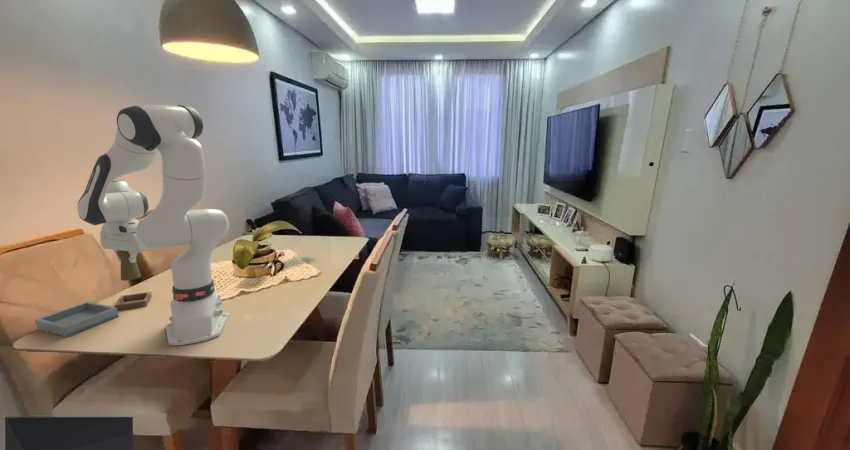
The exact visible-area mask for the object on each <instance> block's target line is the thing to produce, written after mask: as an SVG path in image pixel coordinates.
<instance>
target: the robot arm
mask: <svg viewBox="0 0 850 450" xmlns="http://www.w3.org/2000/svg"><path fill="white" fill-rule="evenodd" d="M116 125H117V129H116V132H115V138H114V142H113V144H112V146H111V147H110V148H109V149H108V150H107V151H106V152H105V153H104V154H101V155H100V156H99V157H98V158H97V160H96V161H95V164H94V165H93V168H92V171H91V174H90V175H89V178H88V182H87V185H86V186H85V189H84V191H83V194H82V195H81V197H80V198H79V199H78V201H77V208H76V209H77V214H78V216H79V219H80V220H82V221H84V222H86V223H87V224H90V225H93V226H99V225H102V224H103V225H102V226H101V230H100V234H99V235H100V243H101V245H100V246H101V247H102V249H104V250H111V251H113V252H114V254H115V256H116V257H117V260H118V262H121V259H120V258H119V257H118V252H119V251H128V252H129V254H130V258H128V260H129V262H130V263H134V262H136V263H137V255H138V254H139V253H144V252H147V251H148V250H149V249H170V248H174V247H181V246H187V245H188V247H187V249H185V251H184V252H183V253H182V254H180V255H179V256H177V257H176V258H175V259H174V260H173V261H172V263H171V266H170V271H171V276H172V283H173V284H172V287H171V288H172V290H171V291H172V296H173V297H172V300H171V301H170V302H169V304H170V311H171V313H170V314H171V316H169V318H168V319H169V321H168V322H166V323H165V331H166V337H167V342H168V345H169V346H184V345H191V344H195V343H201V342H204V341H208V340H211V339H214V338H216V337H218V336H221V333H222V331H223V330H224V328H225V325H226V323H227V321H228V320H229V318H230V314H229V313H228V312H224V310H223V305H222V304H223V303H222V298H221V295H220V294H219V293H217V292H216V290H215V283H214V280H213V278H212V264H211V261H212V255H213V252H214V250H215V248H216V246H217V244H218V242H220V240H222V239H223V238H224V237H225V236H226V235H227V234H228V231H229V229H230V228H229V227H230V221H229V218H228V216H227V215H226V214H225V212H223V211H222V210H221V209H215V208H201V209H192V208H193V207H194V206H196V205H198V204H199V203H201V202H202V201H203V200H204V198H205V197H206V191H207V190H206V188H207V187H206V185H207V183H206V178H207V177H206V176H207V175H206V173H207V171H206V161H205V155H204V149H203V147H202V145H201V143H200V142H199V141H198V140H197V139H196V138H198V137H200V136H201V135H202V133H203V130H204V122H203V118H202V116H201V115H200V113H199V112H198V111H197V110H196V109H195V108H193V107H191V106H187V105H182V104H178V105H174V104H173V105H170V104H146V105H145V104H144V105H140V106H138V105H131V106H128V107H124V108H122V109H120V110H119V111H118V113H117V116H116ZM159 153H160V155H161V160H162V161H161V163H162V165H161V166H162V170H161V171H162V172H161V173H162V192H161V197H160V199H159V202H158V203H157V205H156V206H155V207H154V209H152V210H151V211H150V213H148V212H149V211H148V210H149V201H148V198H147V196H146V195H145V194H143V193H142V192H140V191H135V190H134V189H132V188H130V186H129V183H128V181H125V180H116V179H118V178H121V177H123V176H126V175H129V174H132V173H136V172H139V171H140V172H141V171H143V170H146V169H148V168H150V167H151V166H152V165H154V163H156V160H157V159H158V156H159ZM147 213H148V214H147ZM146 214H147V215H146ZM145 215H146V216H145ZM141 217H142V218H141ZM138 218H141V219H140V220H138Z"/></svg>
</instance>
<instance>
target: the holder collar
mask: <svg viewBox="0 0 850 450" xmlns="http://www.w3.org/2000/svg"><path fill="white" fill-rule="evenodd" d="M119 296H120V297H119V298H118V299H117V300H116V302H115V304H114V305H113V307H116V308H117V311H123V310H124V311H125V310H129V309H131V310H132V309H135V308H136V309H137V308H142V307H148V305H149V302H150V301H151V299H152V296H153V295H152V291H147V292H140V293H139V292H138V293H133V294H125V295H119ZM142 299H143V300H142ZM136 300H137V301H136ZM128 301H129V302H128ZM131 301H132V302H131Z"/></svg>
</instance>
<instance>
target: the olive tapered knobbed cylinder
mask: <svg viewBox="0 0 850 450" xmlns="http://www.w3.org/2000/svg"><path fill="white" fill-rule="evenodd" d="M118 257H119V258H120V259H121V261H120V280H121V281H125V282H126V281H133V280H136V279H140V278H141V277H142V274H141V271H140V269H139V266H138V263H137V261H136V262H134V263H130V262H129V260H128V258H130V254H129V252H128V251H119V252H118ZM118 257H117V258H118Z"/></svg>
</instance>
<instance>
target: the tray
mask: <svg viewBox="0 0 850 450" xmlns="http://www.w3.org/2000/svg"><path fill="white" fill-rule="evenodd" d="M118 311H119V310H117V308H116V307H114V306H111V305H107V304H102V303H96V302H93V301H90V300H89V301H86V302H83V303H80V304H76V305H74V306H70V307H68V308H65V309H62V310H59V311H56V312H54V313H51V314H48V315H45V316H42V317H38V318H35V320H34V321H35V322H34V323H35V325H36V330H38V331H41V330H44V331H43V332H45V331H48V332H51V333H50V334H52V333H55V334H54V335H56V334H58V335H57V336H59V335H61V337H63V336H64V338H67V337H68V338H70V337H72V335H73V336H74V335H77V334H80V333H83V332H85V331H86V330H89V329H92V328H95V327H97V326H99V325H102V324H104V323H106V322H109V321H112V320H114V319H116V318H117V319H118V318H119V317H120V316H119V313H118ZM48 332H47V333H48Z"/></svg>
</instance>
